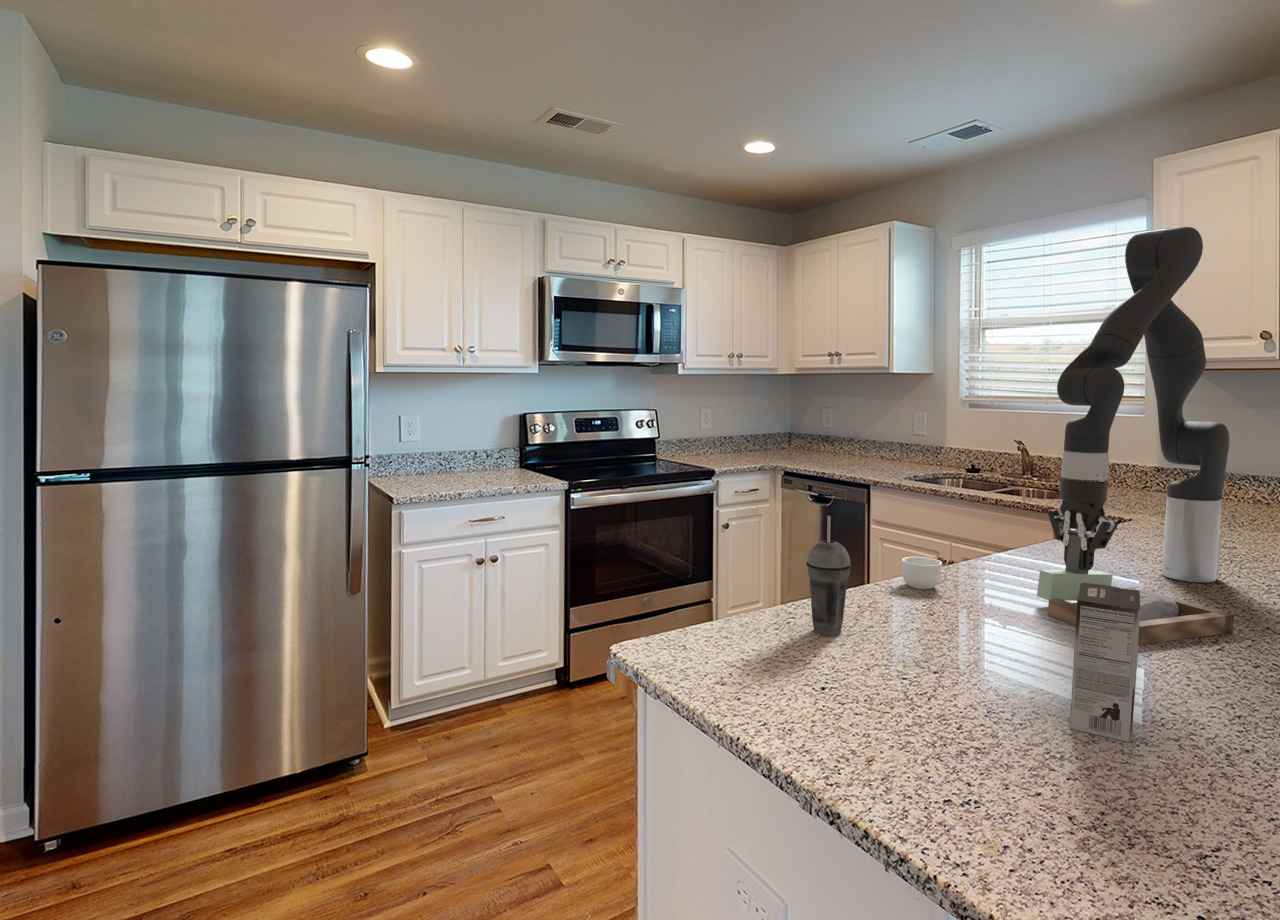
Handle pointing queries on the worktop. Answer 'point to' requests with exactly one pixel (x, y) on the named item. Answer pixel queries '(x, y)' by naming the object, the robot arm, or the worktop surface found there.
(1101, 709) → the coffee box
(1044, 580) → the board
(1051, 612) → the wooden u-shaped frame
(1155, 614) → the stone block
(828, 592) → the beverage cup
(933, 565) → the teacup
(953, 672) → the worktop surface
